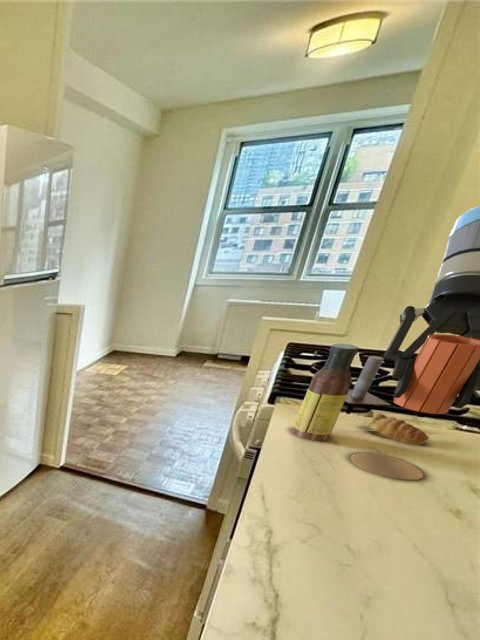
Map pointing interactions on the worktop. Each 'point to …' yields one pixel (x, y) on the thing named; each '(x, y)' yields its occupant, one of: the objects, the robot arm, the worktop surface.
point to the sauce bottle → (326, 395)
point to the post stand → (366, 384)
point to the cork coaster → (387, 466)
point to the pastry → (396, 430)
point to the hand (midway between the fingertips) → (430, 399)
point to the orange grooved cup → (440, 373)
